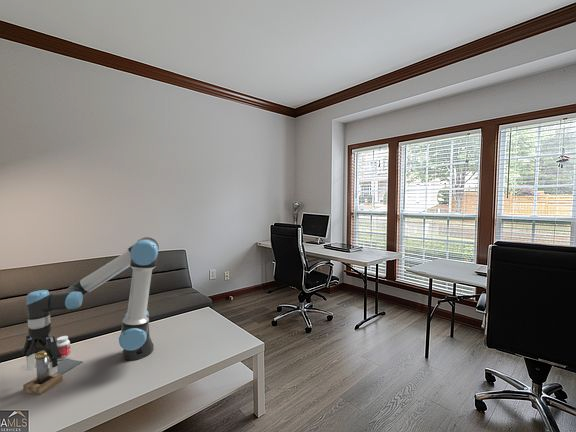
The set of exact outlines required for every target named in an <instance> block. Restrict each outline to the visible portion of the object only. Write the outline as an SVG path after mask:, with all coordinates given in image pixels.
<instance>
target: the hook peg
mask: <svg viewBox="0 0 576 432" xmlns="http://www.w3.org/2000/svg"><path fill="white" fill-rule="evenodd" d="M34 354H35V367H36V378H37V383H38V384H40V385H41V384H43V383H45V382H47V381H48V380H49V357H48V355H47V354H46V352H45V351H44V349H42V350H40V351H37V352H35V353H34Z"/></svg>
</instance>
